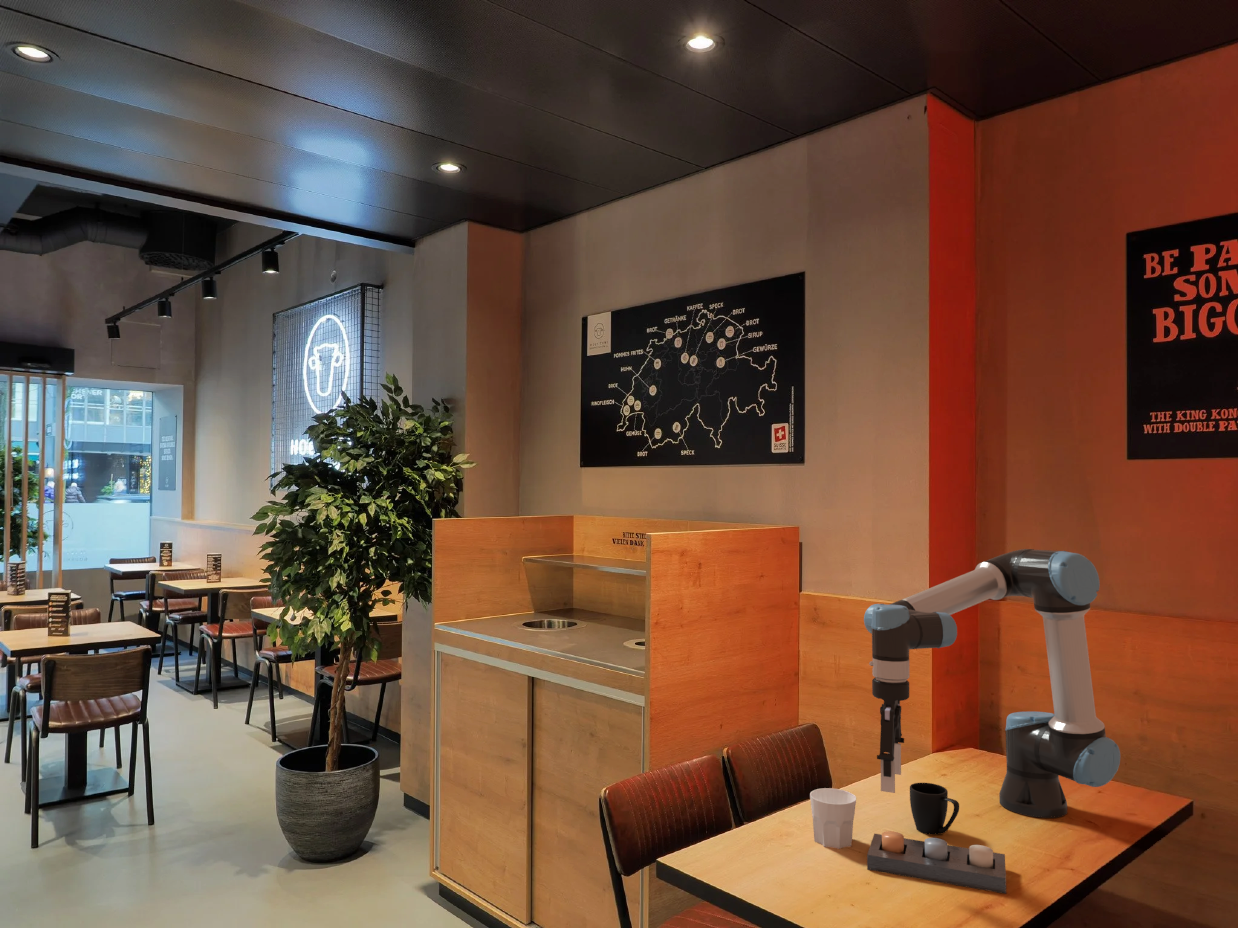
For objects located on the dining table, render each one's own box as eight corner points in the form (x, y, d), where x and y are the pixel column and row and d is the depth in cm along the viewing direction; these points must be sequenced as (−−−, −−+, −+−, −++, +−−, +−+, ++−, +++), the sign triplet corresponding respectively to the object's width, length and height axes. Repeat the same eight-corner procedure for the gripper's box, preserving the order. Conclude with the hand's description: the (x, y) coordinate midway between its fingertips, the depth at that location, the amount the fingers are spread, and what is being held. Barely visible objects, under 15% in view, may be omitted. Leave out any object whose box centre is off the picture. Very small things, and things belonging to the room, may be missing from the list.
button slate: (948, 857, 174) (947, 839, 174) (947, 865, 170) (946, 847, 170) (925, 853, 176) (925, 836, 176) (924, 861, 172) (923, 844, 172)
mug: (944, 845, 185) (943, 802, 185) (902, 826, 195) (901, 785, 196) (969, 838, 189) (969, 795, 189) (927, 820, 199) (926, 780, 200)
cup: (857, 835, 190) (857, 791, 191) (855, 852, 181) (854, 806, 181) (812, 829, 194) (812, 786, 194) (807, 846, 184) (807, 800, 185)
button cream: (993, 864, 171) (992, 846, 171) (993, 873, 167) (993, 855, 167) (969, 860, 173) (969, 843, 173) (969, 869, 169) (969, 851, 169)
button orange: (904, 850, 178) (904, 833, 178) (902, 858, 174) (902, 840, 174) (883, 846, 179) (883, 829, 180) (880, 854, 175) (880, 837, 176)
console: (1005, 868, 173) (1004, 853, 173) (1006, 893, 162) (1006, 877, 163) (874, 847, 184) (874, 833, 184) (867, 869, 173) (867, 854, 173)
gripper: (879, 666, 191) (879, 763, 190) (864, 688, 169) (865, 797, 168) (914, 669, 188) (914, 768, 187) (903, 692, 166) (904, 803, 165)
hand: (891, 782), depth 177 cm, fingers open, 12 cm apart
